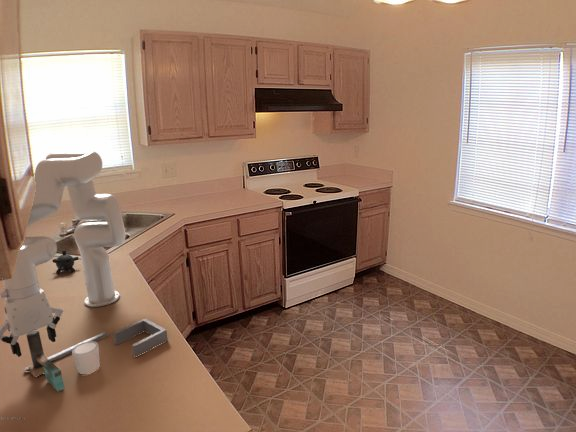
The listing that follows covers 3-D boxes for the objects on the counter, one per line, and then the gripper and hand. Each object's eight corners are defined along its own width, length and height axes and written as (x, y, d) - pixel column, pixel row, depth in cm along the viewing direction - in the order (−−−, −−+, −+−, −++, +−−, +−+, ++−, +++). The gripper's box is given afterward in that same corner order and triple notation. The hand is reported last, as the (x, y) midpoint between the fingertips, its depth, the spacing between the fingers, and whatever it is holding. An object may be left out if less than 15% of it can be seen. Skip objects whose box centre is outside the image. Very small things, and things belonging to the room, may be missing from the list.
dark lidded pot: (43, 272, 179) (50, 256, 189) (66, 283, 184) (71, 267, 194) (57, 256, 176) (64, 242, 187) (79, 268, 182) (85, 253, 192)
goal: (114, 344, 126) (112, 332, 125) (146, 328, 134) (144, 318, 133) (135, 358, 119) (134, 346, 117) (167, 341, 127) (166, 329, 126)
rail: (24, 371, 114) (23, 368, 113) (105, 334, 132) (105, 331, 131) (26, 373, 113) (25, 370, 113) (107, 336, 131) (107, 332, 130)
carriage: (29, 371, 113) (20, 334, 110) (46, 364, 116) (38, 327, 113) (52, 395, 103) (43, 354, 100) (70, 385, 107) (62, 346, 104)
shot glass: (73, 379, 110) (68, 357, 108) (78, 364, 116) (74, 343, 115) (100, 374, 112) (96, 352, 110) (104, 359, 118) (100, 339, 116)
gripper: (-11, 306, 98) (4, 368, 103) (63, 282, 111) (73, 337, 116) (-21, 298, 103) (-6, 357, 107) (51, 276, 116) (62, 329, 120)
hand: (35, 347), depth 111 cm, fingers open, 8 cm apart
